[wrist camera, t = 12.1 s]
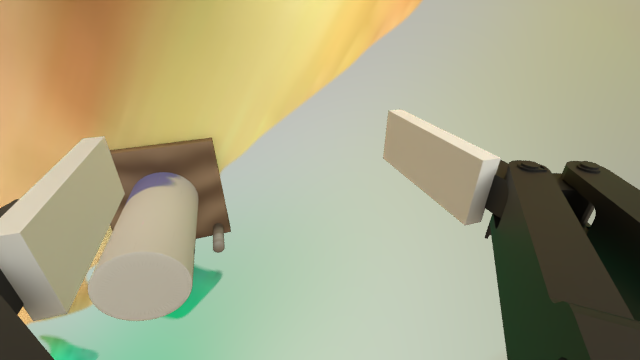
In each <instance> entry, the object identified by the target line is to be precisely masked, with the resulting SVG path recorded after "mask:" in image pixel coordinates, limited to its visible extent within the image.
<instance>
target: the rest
mask: <svg viewBox="0 0 640 360" xmlns="http://www.w3.org/2000/svg"><path fill="white" fill-rule="evenodd" d="M110 153H111V156H112V159H113V162H114V164H115V167H116V170H117V173H118V176H119V179H120V181H121V184H122V187H123V190H124V193H125V195H124V197H123V199H122V201H121V203H120V205H119V207H118V209H117V211H116V213H115V215H114V217H113V220H112V222H111V224H110V225H111V228H112V230H113V229H114V227H115V225H116V223H117V221H118V219H119V217H120V215H121V212H122V210H123V208H124V207H125V204H126V202H127V200H128V198H129V195H130V193H131V191H132V189H133V187H134V186H135V184H136V183H137V182H138V181H139V180H140V179H142V178H143V177H145V176H147V175H150V174H153V173H159V172H168V173H174V174H177V175H180V176H182V177H184V178H186V179H187V180H188V181H190V182H191V183H192V184H193V186H194V187H195V189H196V191H197V193H198V213H197V227H196V239H197V238H202V237H207V236H212V235H213V250H214V251H215V252H222V251H223V250H224V233H227V232H231V230H230V223H229V219H228V214H227V209H226V205H225V199H224V194H223V189H222V185H221V180H220V175H219V170H218V165H217V161H216V156H215V151H214V146H213V141H212V138H206V139H198V140H190V141H182V142H174V143H166V144H158V145H150V146H142V147H134V148H126V149H118V150H110Z"/></svg>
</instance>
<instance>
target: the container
mask: <svg viewBox="0 0 640 360" xmlns="http://www.w3.org/2000/svg"><path fill="white" fill-rule="evenodd" d="M197 213H198V193H197V191H196V189H195V187H194V186H193V184H192V183H191V182H190V181H188V180H187V179H186V178H184V177H182V176H180V175H177V174H174V173H168V172H159V173H153V174H150V175H147V176H145V177H143V178H142V179H140V180H139V181H138V182H137V183H136V184H135V186H134V187H133V189H132V191H131V193H130V195H129V198H128V200H127V202H126V204H125V207H124V208H123V210H122V212H121V215H120V217H119V219H118V221H117V223H116V225H115V227H114V229H113V231H112V234H111V236H110V238H109V240H108V242H107V244H106V246H105V248H104V251H103V253H102V255H101V257H100V259H99V261H98V263H97V265H96V267H95V270H94V272H93V274H92V276H91V278H90V280H89V284H88V294H89V297H90V299H91V301H92V303H93V304H94V305H95V306H96V307H97V308H98V309H99V310H100V311H102V312H103V313H105V314H107V315H109V316H111V317H114V318H118V319H122V320H128V321H144V320H151V319H156V318H159V317H162V316H165V315H167V314H169V313H171V312H173V311H175V310H176V309H178V308H179V307H180V306H181V305H182V304H183V303H184V302H185V301H186V300H187V298H188V297H189V295H190V293H191V290H192V281H193V268H194V253H195V240H196V227H197Z"/></svg>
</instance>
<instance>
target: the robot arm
mask: <svg viewBox="0 0 640 360" xmlns="http://www.w3.org/2000/svg"><path fill="white" fill-rule="evenodd" d="M383 158H384V159H385V160H386V161H387V162H388V163H390V164H391V165H392V166H393V167H395V168H396V169H397V170H398V171H399V172H401V173H402V174H403V175H404V176H405V177H407V178H408V179H409V180H410V181H412V182H413V183H414V184H415V185H417V186H418V187H419V188H420V189H421V190H423V191H424V192H425V193H426V194H427V195H429V196H430V197H431V198H432V199H434V200H435V201H436V202H437V203H438V204H440V205H441V206H442V207H443V208H444V209H446V210H447V211H448V212H449V213H450V214H452V215H453V216H454V217H456V218H457V219H458V220H459V221H460V222H462V223H463V224H464V225H469V224H473V223H478V222H481V220H482V216H483V213H484V210H485V208H486V209H487V210H489V211H490V212H492V213H493V214H492V217H491V220H490V223H489V226H488V229H487V232H486V235H485V238H488V237H489V235H491V236H492V243H493V250H494V259H495V266H496V274H497V282H498V289H499V297H500V305H501V313H502V320H503V328H504V335H505V343H506V351H507V359H508V360H640V190H638V189H637V188H635V187H634V186H632V185H631V184H629V183H628V182H626V181H625V180H623V179H622V178H620V177H619V176H617V175H615V174H614V173H612V172H611V171H609V170H608V169H606V168H604V167H602V166H599V165H597V164H596V163H592V162H588V161H582V162H581V161H570V162H567V163H566V166H565V168H564V171H563V173H562V174H557V173H551V171H550V170H549V169H548V168H546V167H545V166H542V165H540V164H538V163H535V162H532V161H521V160H519V161H518V160H517V161H511V162H509V164H508V163H506V162H504V161H502V160H500V159H501V158H500V157H498V156H496V155H494V154H491V153H490V152H487V151H485V150H483V149H481V148H479V147H477V146H475V145H473V144H471V143H469V142H467V141H465V140H463V139H461V138H459V137H457V136H455V135H453V134H451V133H448V132H446V131H444V130H442V129H440V128H438V127H436V126H434V125H432V124H430V123H428V122H426V121H424V120H422V119H420V118H418V117H416V116H414V115H412V114H409V113H407V112H405V111H403V110H389V111H388V119H387V128H386V137H385V146H384V155H383ZM124 195H125V193H124V190H123V187H122V184H121V181H120V179H119V176H118V173H117V170H116V167H115V164H114V162H113V159H112V156H111V153H110V150H109V148H108V145H107V142H106V139H105V136H103V137H92V138H83V139H82V140H81V141H80V142H79V143H78V144H77V145H76V146H74V147H73V148H72V149H71V150H70V151H69V152H68V153H67V154H66V155H65V156H64V157H63V158H62V159H61V160H60V161H59V162H58V163H57V164H56V165H55V166H54V167H53V168H52V169H51V170H49V171H48V172H47V173H46V174H45V175H44V176H43V177H42V178H41V179H40V180H39V181H38V182H37V183H36V184H35V185H34V186H33V187H32V188H31V189H30V190H29V191H28V192H27V193H26V194H24V195H23V196H22V197H21V198H20V199H17V200H14V201H13V202H11V203H9V204H7V205H5V206H4V207H2V208H0V360H54V359H53V358H52V356H51V355H50V354H49V353H48V352H47V350H46V349H45V348H44V347H43V346H42V345H41V343H40V342H39V341H38V339H37V338H36V337H35V336H34V335H33V333H32V332H31V331H30V330H29V329H28V327H27V326H26V325H25V324H24V323H23V321H22V320H21V319H20V318H19V317H18V315H17V314H18V313H19V311H20V310H21V308H22V307H24V308H25V310H26V311H27V313H28V314H29V315H30V317H31V318H32V320H33V321H36V320H41V319H45V318H50V317H54V316H59V315H63V314H67V313H68V311H69V309H70V307H71V305H72V303H73V301H74V299H75V297H76V294H77V292H78V290H79V288H80V286H81V284H82V282H83V280H84V278H85V276H86V274H87V272H88V269H89V267H90V265H91V263H92V261H93V259H94V257H95V255H96V253H97V251H98V249H99V247H100V244H101V242H102V240H103V238H104V236H105V234H106V232H107V230H108V228H109V226H110V224H111V222H112V220H113V217H114V215H115V213H116V211H117V209H118V207H119V205H120V203H121V201H122V199H123V197H124ZM594 208H595V210H596V216H595V219H594V221H593V223H592V225H590V224H589V223H588V222H587V221H588V219H589V218H590V216H591V214H592V212H593V210H594Z"/></svg>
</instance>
